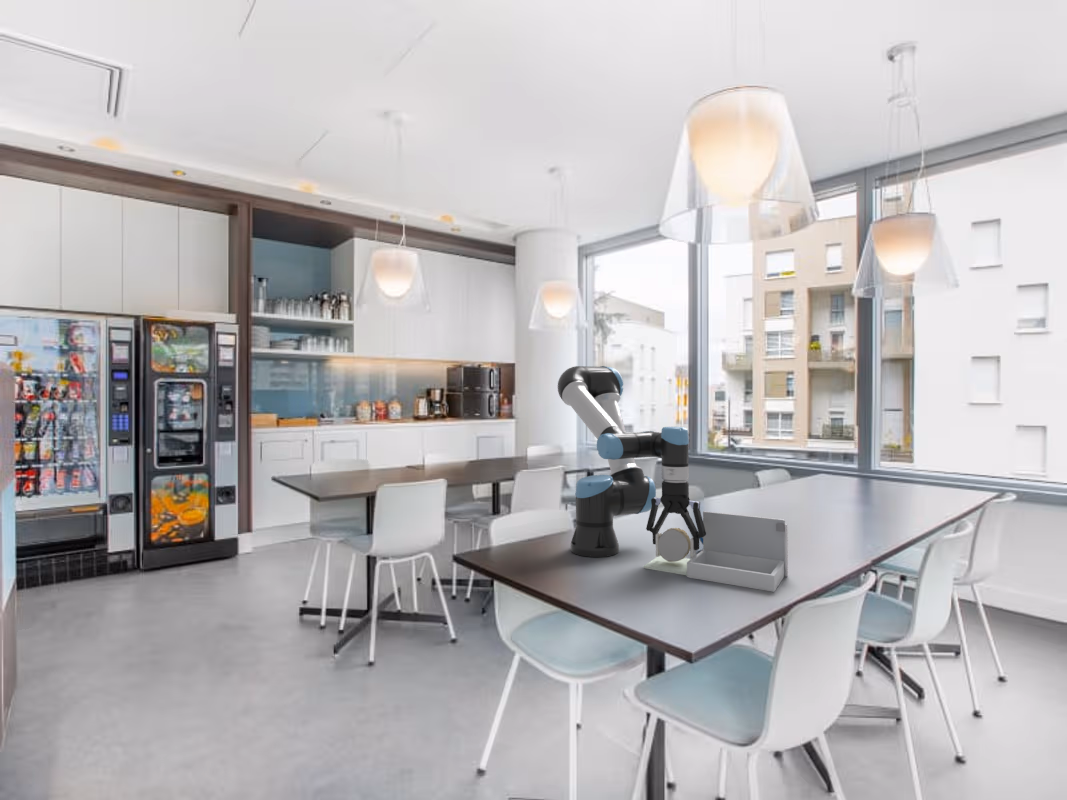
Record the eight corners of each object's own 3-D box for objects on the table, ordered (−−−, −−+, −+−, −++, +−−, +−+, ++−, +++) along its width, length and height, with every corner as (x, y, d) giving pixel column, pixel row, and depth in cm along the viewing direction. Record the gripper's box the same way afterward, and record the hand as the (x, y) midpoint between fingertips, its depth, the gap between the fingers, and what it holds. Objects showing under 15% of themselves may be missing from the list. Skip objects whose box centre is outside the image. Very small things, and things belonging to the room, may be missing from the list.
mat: (643, 568, 161) (643, 566, 161) (661, 556, 173) (661, 554, 173) (692, 576, 154) (692, 574, 154) (707, 563, 166) (707, 561, 166)
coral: (649, 538, 160) (660, 517, 168) (657, 567, 163) (667, 546, 171) (683, 540, 155) (692, 518, 163) (690, 570, 158) (699, 548, 166)
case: (686, 577, 153) (686, 521, 153) (704, 562, 166) (703, 511, 166) (777, 592, 141) (777, 532, 141) (788, 575, 154) (788, 519, 154)
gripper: (633, 479, 166) (634, 555, 166) (710, 485, 154) (710, 567, 154) (643, 476, 173) (644, 549, 173) (717, 481, 161) (718, 560, 161)
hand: (675, 558), depth 164 cm, fingers closed on coral, 9 cm apart
